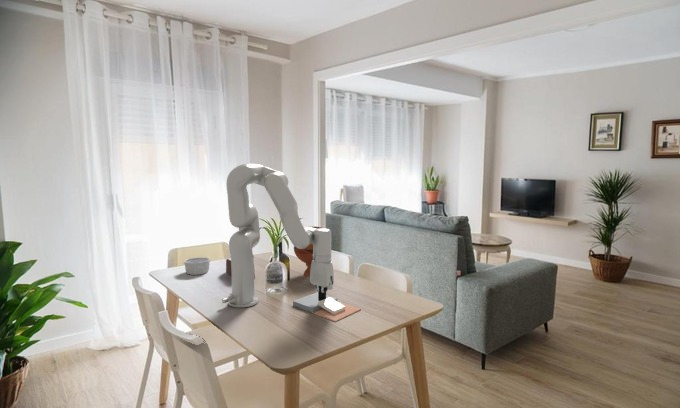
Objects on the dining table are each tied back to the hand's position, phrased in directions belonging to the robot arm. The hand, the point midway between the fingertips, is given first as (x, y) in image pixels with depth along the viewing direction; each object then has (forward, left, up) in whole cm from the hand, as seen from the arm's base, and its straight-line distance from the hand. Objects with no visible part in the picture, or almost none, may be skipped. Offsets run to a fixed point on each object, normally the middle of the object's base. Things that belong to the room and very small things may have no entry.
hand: (322, 300), depth 164 cm
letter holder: (+2, +62, -3) cm, 62 cm away
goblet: (+30, +37, -3) cm, 48 cm away
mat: (0, -8, -3) cm, 9 cm away
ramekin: (-10, +85, -3) cm, 85 cm away
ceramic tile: (0, -6, -1) cm, 6 cm away
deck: (0, +4, -3) cm, 5 cm away
